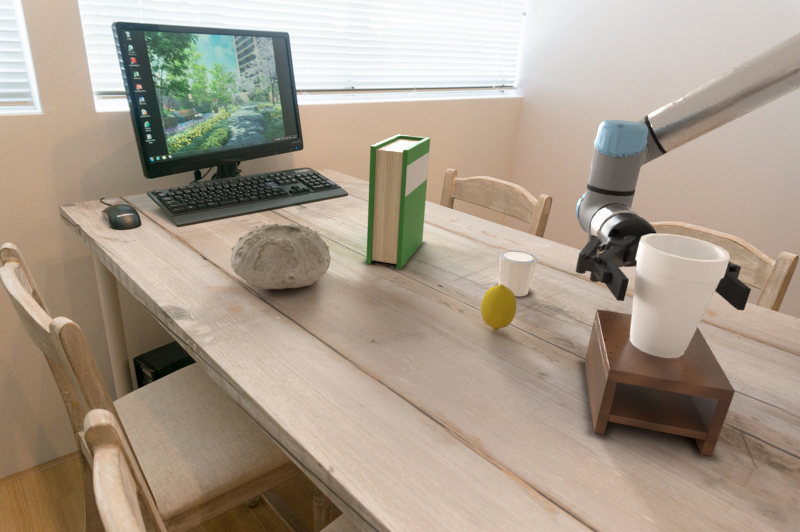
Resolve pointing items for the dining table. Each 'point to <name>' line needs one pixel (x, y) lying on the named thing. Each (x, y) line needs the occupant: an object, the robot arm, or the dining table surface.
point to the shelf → (655, 384)
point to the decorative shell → (280, 256)
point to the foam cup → (673, 291)
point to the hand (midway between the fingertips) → (683, 295)
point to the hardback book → (397, 198)
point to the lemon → (498, 306)
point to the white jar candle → (516, 271)
